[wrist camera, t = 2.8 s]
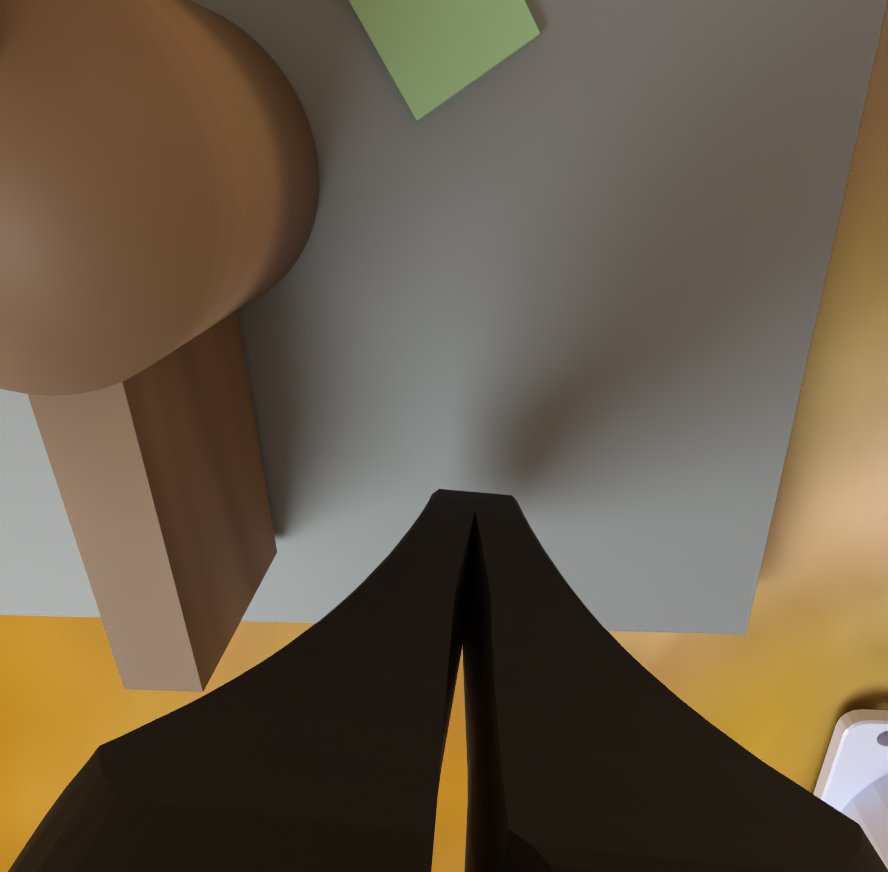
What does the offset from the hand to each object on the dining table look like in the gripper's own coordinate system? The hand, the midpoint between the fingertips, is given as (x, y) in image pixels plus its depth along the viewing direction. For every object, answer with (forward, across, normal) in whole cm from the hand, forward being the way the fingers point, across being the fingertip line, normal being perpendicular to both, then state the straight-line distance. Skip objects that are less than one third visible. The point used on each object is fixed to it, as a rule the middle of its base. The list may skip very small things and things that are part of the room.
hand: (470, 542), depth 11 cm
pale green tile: (+1, +1, -8) cm, 8 cm away
